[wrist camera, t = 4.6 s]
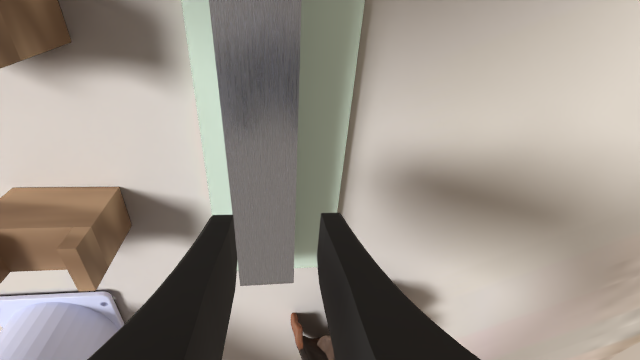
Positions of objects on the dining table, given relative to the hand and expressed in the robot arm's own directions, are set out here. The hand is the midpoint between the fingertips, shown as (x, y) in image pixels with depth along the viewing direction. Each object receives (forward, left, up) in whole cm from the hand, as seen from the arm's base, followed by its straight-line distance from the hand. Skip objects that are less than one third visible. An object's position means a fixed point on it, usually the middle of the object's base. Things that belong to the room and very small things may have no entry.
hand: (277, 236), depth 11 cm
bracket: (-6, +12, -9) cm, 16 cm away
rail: (0, +2, -7) cm, 7 cm away
